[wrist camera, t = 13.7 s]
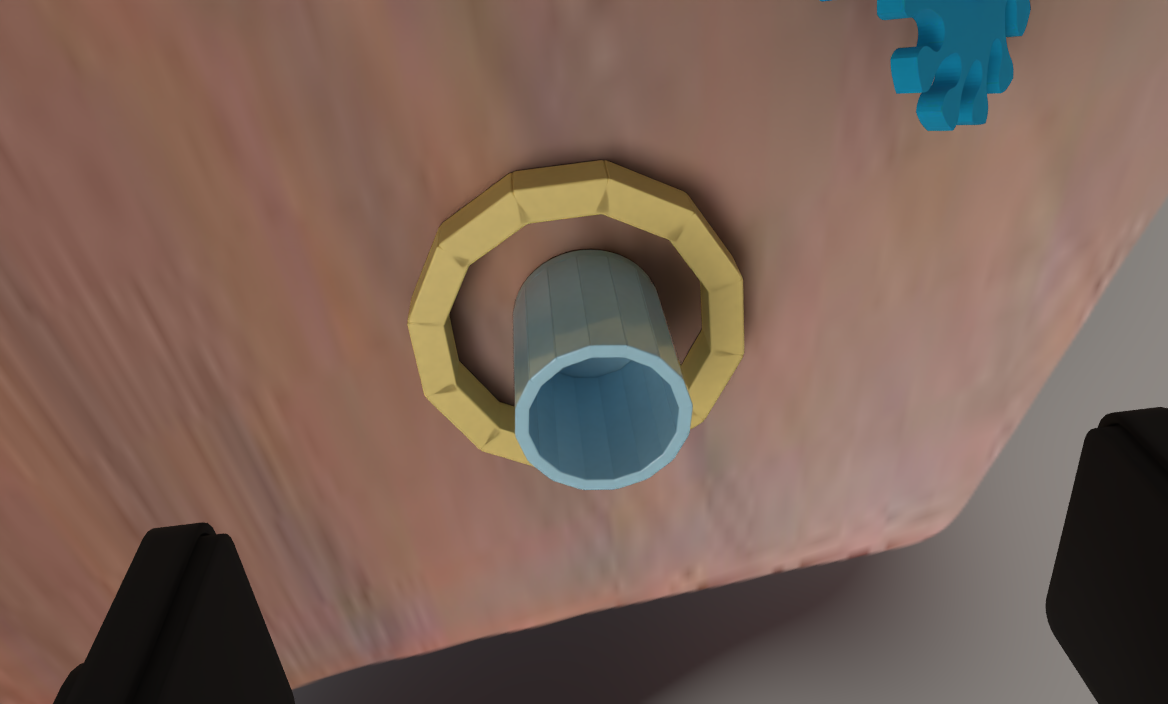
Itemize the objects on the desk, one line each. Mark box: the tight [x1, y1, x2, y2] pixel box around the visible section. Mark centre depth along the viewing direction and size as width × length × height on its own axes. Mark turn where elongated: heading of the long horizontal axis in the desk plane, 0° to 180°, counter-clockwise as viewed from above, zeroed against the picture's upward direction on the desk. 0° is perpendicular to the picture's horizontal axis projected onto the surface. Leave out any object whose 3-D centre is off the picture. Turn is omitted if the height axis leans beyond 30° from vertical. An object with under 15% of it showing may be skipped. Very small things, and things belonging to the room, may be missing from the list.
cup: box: [513, 250, 693, 490], centre depth 36 cm, size 6×6×8 cm
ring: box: [407, 160, 744, 466], centre depth 38 cm, size 13×13×2 cm
